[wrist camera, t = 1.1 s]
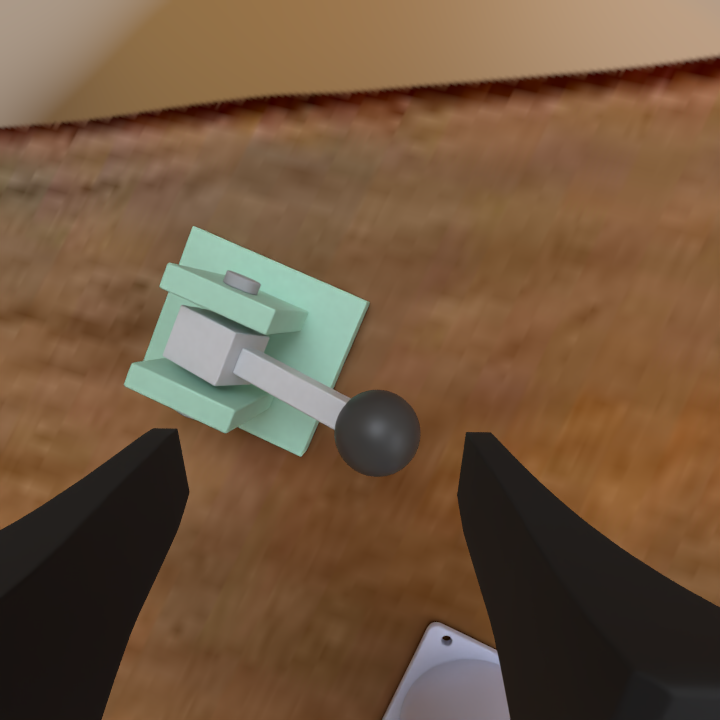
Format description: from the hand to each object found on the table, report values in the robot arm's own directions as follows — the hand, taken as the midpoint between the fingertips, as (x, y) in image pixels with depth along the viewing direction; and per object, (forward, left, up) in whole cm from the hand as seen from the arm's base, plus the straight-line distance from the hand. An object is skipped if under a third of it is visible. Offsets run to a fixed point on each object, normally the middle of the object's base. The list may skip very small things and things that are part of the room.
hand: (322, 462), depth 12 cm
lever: (+2, 0, -7) cm, 8 cm away
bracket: (+6, 0, -11) cm, 13 cm away
